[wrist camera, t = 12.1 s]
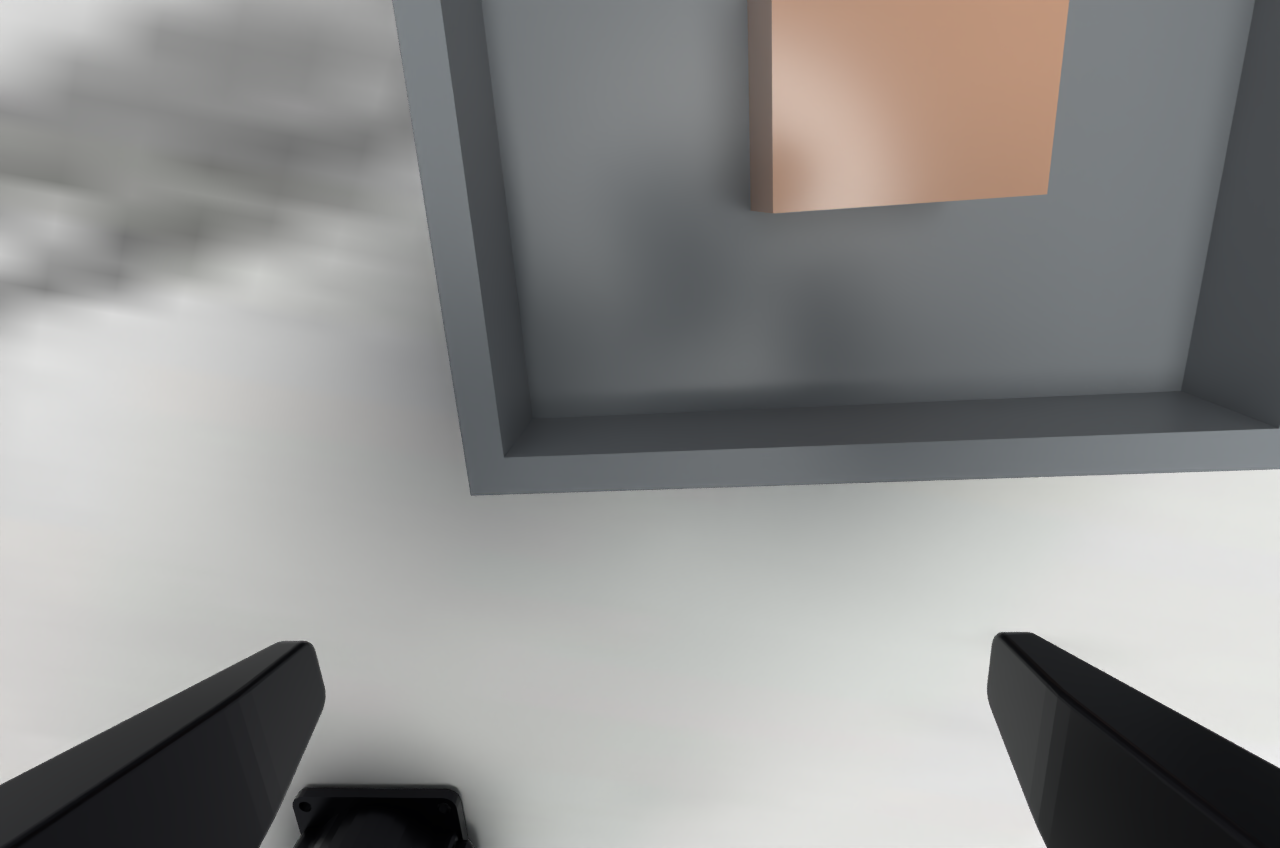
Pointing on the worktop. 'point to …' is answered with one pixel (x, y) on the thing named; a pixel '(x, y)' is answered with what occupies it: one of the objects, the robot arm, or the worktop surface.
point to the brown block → (901, 100)
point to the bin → (842, 262)
